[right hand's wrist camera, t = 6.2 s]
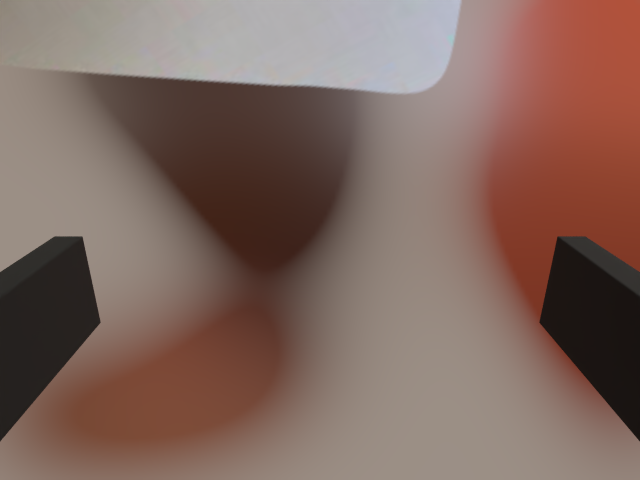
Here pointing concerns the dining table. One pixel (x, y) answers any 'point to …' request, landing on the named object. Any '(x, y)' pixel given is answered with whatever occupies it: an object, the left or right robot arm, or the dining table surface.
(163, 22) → the dining table surface
